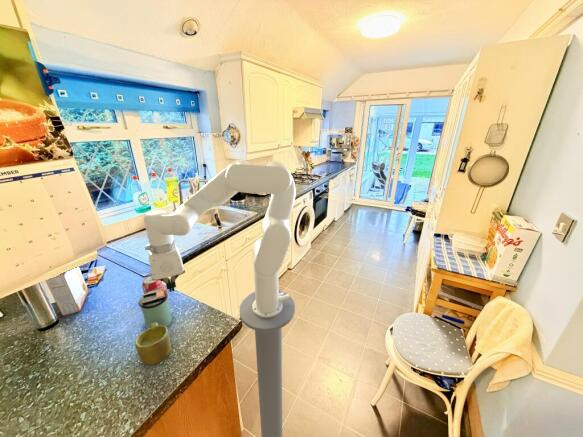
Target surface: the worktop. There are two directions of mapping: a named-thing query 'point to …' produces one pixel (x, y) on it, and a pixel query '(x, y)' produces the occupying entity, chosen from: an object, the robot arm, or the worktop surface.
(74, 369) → the worktop surface
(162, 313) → the tumbler
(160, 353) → the mug
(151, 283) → the soda can
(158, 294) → the slider
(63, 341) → the worktop surface
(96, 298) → the worktop surface
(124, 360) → the worktop surface
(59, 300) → the cracker box
